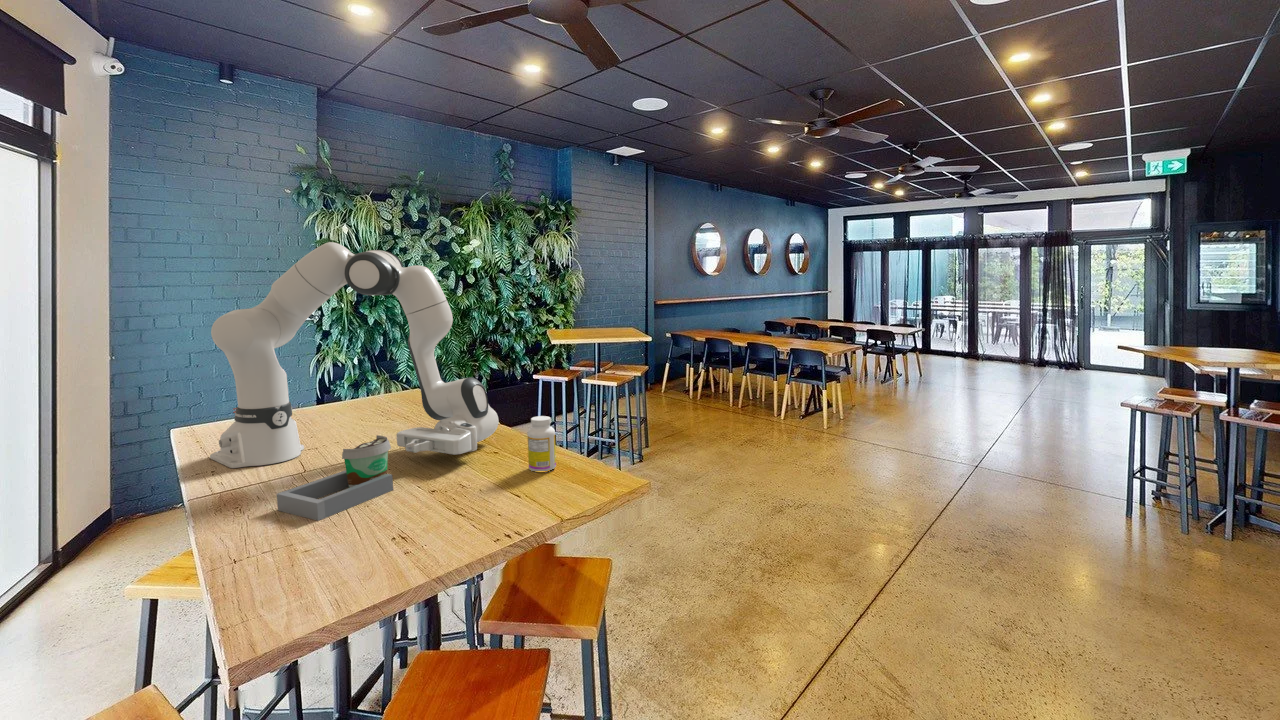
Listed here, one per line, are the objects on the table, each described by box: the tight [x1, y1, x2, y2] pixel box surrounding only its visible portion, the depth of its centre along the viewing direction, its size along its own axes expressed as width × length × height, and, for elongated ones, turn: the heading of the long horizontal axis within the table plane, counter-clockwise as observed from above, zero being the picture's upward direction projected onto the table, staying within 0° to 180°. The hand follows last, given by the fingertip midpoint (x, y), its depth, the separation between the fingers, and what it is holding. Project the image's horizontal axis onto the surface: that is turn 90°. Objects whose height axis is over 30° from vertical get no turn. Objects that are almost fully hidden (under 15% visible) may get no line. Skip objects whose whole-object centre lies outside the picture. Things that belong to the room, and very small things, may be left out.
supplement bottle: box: [527, 415, 557, 472], centre depth 140 cm, size 7×7×13 cm
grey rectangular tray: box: [276, 469, 394, 522], centre depth 121 cm, size 12×18×4 cm, turn 156°
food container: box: [341, 434, 392, 488], centre depth 129 cm, size 12×6×10 cm, turn 168°
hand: (409, 448), depth 138 cm, fingers closed
